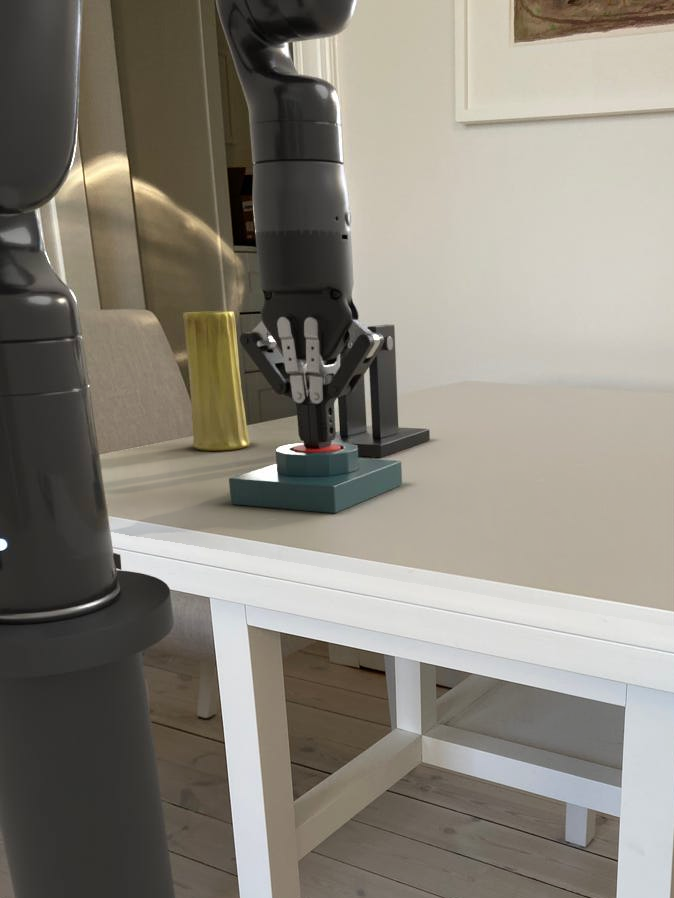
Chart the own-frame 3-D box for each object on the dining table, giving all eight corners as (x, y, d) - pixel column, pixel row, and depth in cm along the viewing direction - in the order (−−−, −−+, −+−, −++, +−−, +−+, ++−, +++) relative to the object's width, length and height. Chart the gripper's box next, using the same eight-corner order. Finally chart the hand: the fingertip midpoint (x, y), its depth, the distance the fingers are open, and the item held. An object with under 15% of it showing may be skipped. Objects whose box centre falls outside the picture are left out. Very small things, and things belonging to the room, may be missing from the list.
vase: (257, 442, 113) (245, 310, 109) (239, 451, 108) (226, 313, 103) (205, 442, 114) (191, 311, 109) (185, 451, 108) (169, 313, 103)
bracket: (381, 457, 103) (375, 328, 99) (306, 453, 106) (297, 327, 102) (430, 440, 114) (426, 322, 109) (360, 436, 117) (354, 322, 112)
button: (326, 472, 83) (325, 452, 83) (285, 470, 85) (284, 449, 84) (350, 464, 87) (349, 444, 86) (310, 462, 88) (309, 442, 87)
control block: (335, 513, 79) (332, 463, 78) (230, 504, 83) (226, 456, 82) (402, 485, 90) (400, 440, 88) (307, 478, 93) (304, 435, 92)
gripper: (205, 229, 78) (227, 450, 84) (352, 223, 73) (365, 458, 79) (259, 231, 85) (277, 436, 91) (398, 227, 80) (407, 444, 86)
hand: (318, 446), depth 85 cm, fingers closed
